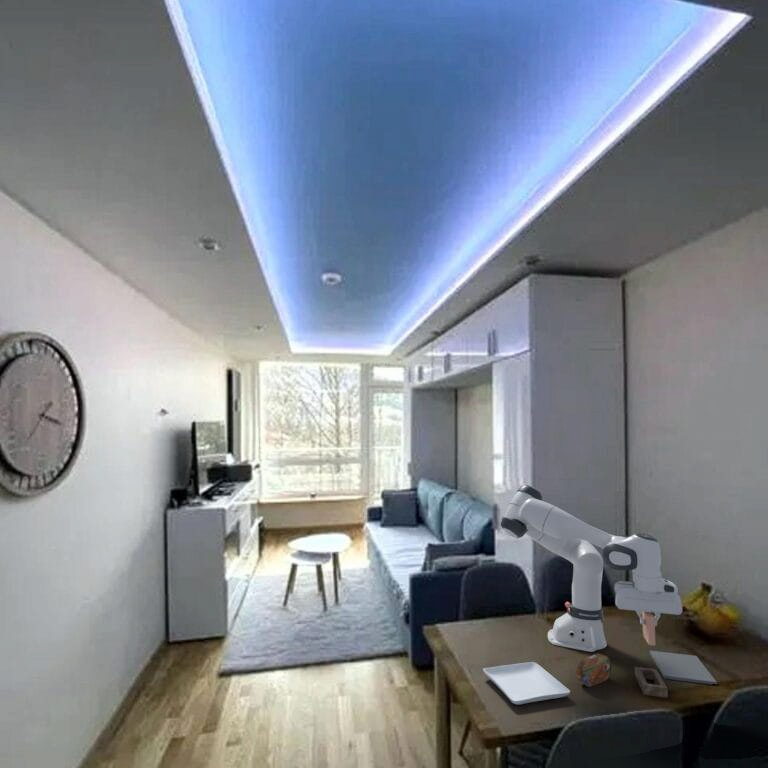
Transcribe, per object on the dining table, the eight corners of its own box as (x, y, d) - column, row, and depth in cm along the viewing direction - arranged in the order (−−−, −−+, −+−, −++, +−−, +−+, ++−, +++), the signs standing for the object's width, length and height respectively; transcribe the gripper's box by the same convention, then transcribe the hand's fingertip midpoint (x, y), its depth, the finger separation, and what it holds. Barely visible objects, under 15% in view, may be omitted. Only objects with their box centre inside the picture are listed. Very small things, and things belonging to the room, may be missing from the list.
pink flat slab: (648, 644, 166) (647, 616, 167) (642, 635, 174) (642, 608, 175) (655, 645, 166) (654, 617, 166) (649, 635, 173) (648, 609, 174)
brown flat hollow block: (643, 694, 163) (643, 685, 163) (634, 675, 176) (634, 666, 176) (667, 697, 161) (667, 688, 162) (656, 678, 174) (656, 669, 174)
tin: (583, 689, 166) (582, 663, 167) (575, 685, 169) (574, 659, 170) (612, 678, 174) (611, 653, 174) (604, 674, 176) (604, 650, 177)
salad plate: (572, 701, 159) (572, 690, 160) (513, 712, 153) (513, 700, 154) (534, 670, 180) (534, 660, 180) (481, 678, 174) (481, 668, 174)
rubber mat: (664, 678, 174) (664, 675, 174) (649, 653, 193) (649, 650, 193) (716, 685, 170) (716, 682, 170) (696, 658, 189) (696, 655, 189)
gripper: (616, 582, 171) (617, 624, 170) (682, 588, 166) (684, 631, 165) (612, 577, 177) (613, 617, 176) (677, 582, 172) (678, 624, 171)
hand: (648, 624), depth 170 cm, fingers closed on pink flat slab, 2 cm apart
